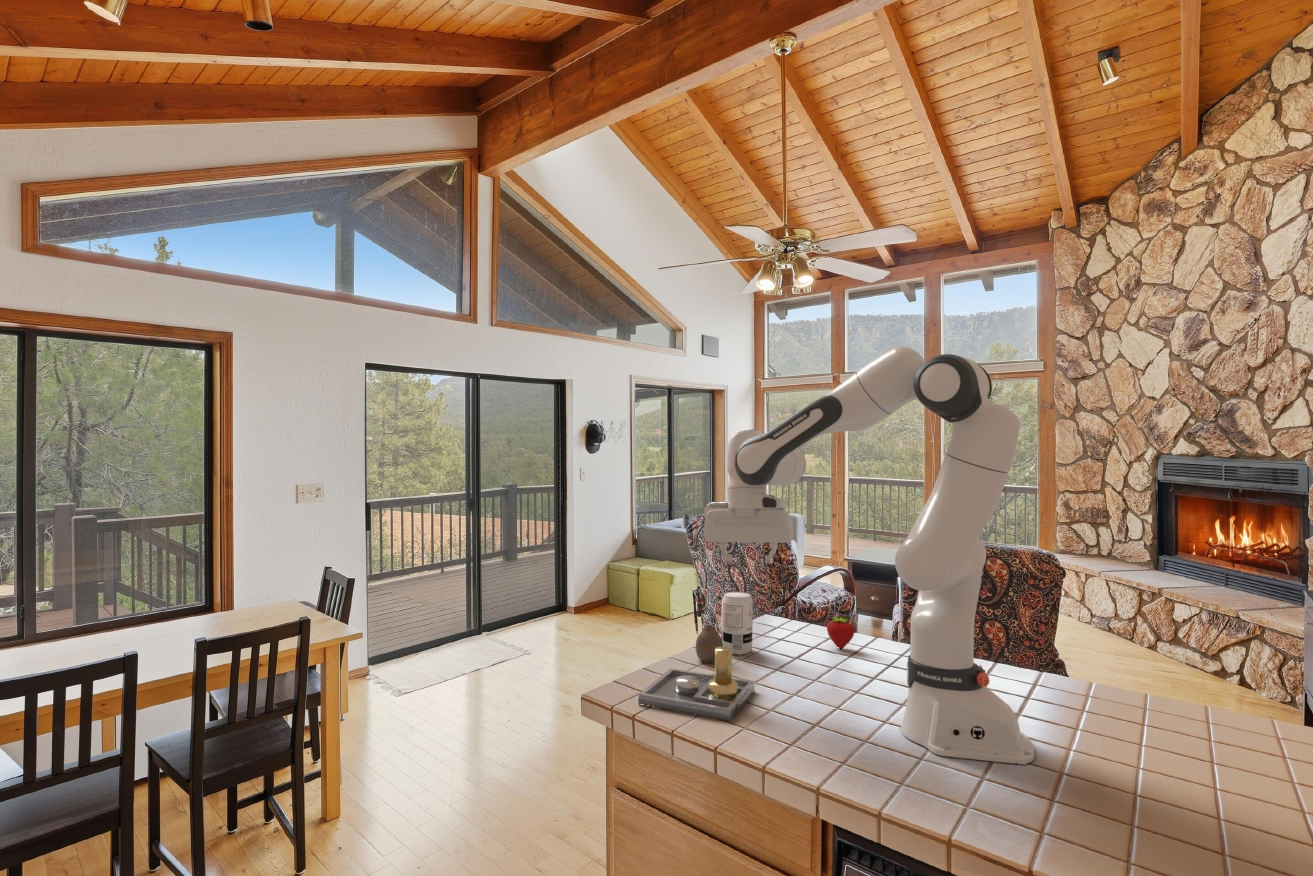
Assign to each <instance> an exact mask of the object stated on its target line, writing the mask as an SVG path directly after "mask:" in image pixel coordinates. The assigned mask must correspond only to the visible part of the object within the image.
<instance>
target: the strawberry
mask: <svg viewBox="0 0 1313 876" xmlns="http://www.w3.org/2000/svg"><path fill="white" fill-rule="evenodd" d="M832 619H833V620H830V621H829V622H828V623H827V624H826V625H827V626H826V631H827V635H828V637H829V638H830V639H831V642H833V644H834V646H836V647H839V648H843V649H844V648H845V647H846V645H848V644H849V643H850V642H851V641H852V639H853V638H854V635H855V628H854V627H855V626H854V625H853V624H851V623H849V622H850V620H849V619H847V618H843V617H840V612H838V617H832ZM839 648H838V649H839Z"/></svg>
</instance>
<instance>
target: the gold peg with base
mask: <svg viewBox="0 0 1313 876" xmlns="http://www.w3.org/2000/svg"><path fill="white" fill-rule="evenodd" d="M732 667H733V654H732V649H731V648H729V647H716V648H715V663H714V675H715V678H713V679H710V680H709V697H711V698H717V699H723V700H729V701H733V700H734V699H735V698H736V697H737V682H736V681H735V680H733V679H732V678H733V673H732V671H733V668H732Z"/></svg>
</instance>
